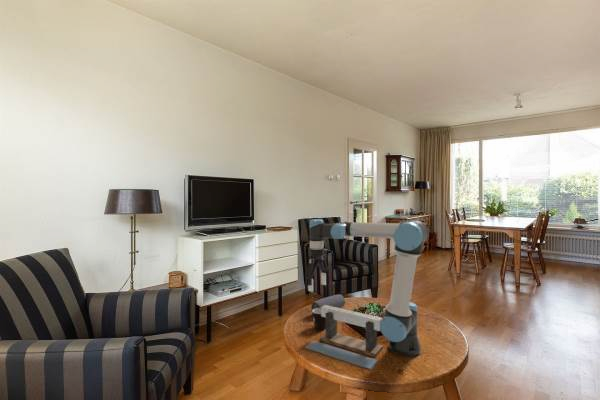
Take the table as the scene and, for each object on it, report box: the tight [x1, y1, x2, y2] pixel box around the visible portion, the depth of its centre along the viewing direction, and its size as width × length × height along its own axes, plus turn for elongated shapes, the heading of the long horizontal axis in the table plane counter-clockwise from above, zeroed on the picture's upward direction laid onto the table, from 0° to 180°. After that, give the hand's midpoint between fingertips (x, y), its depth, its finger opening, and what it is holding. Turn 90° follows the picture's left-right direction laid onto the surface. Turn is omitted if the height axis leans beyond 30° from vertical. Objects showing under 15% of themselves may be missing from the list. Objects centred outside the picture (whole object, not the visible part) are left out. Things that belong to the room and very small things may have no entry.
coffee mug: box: [311, 308, 326, 332], centre depth 177 cm, size 12×9×10 cm
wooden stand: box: [319, 313, 384, 358], centre depth 157 cm, size 30×10×14 cm, turn 56°
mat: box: [304, 340, 378, 371], centre depth 147 cm, size 34×8×1 cm, turn 56°
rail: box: [321, 305, 384, 332], centre depth 157 cm, size 32×4×5 cm, turn 56°
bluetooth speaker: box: [310, 294, 346, 311], centre depth 199 cm, size 23×9×10 cm, turn 130°
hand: (317, 287), depth 165 cm, fingers open, 13 cm apart
